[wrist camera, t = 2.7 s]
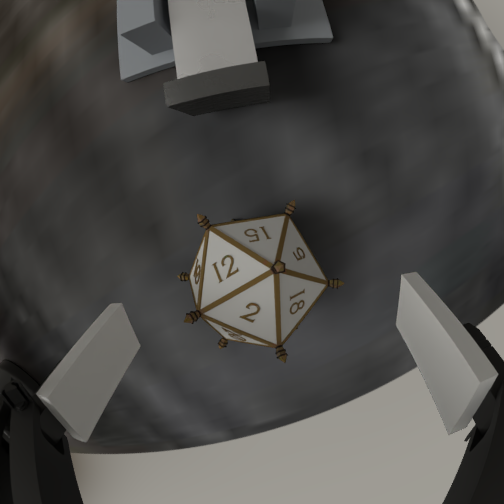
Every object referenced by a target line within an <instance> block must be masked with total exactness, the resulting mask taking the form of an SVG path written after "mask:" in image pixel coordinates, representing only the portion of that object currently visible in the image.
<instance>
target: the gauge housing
mask: <svg viewBox="0 0 504 504" xmlns="http://www.w3.org/2000/svg"><path fill="white" fill-rule="evenodd" d="M245 3H246V8H247V12H248V17H249V21H250V26H251V31H252V35H253V40H254V45H255V49H256V48H263V47H271V46H281V45H292V44H308V43H330V42H331V41H332V39H333V35H332V31H331V28H330V24H329V21H328V17H327V14H326V11H325V7H324V4H323V1H322V0H245ZM117 31H118V50H119V63H120V75H121V80H122V81H125V82H130V81H133V80H135V79H138V78H141V77H143V76H146V75H149V74H152V73H155V72H158V71H161V70H164V69H167V68H171V67H174V66H176V64H175V57H174V49H173V42H172V33H171V25H170V16H169V7H168V0H117Z"/></svg>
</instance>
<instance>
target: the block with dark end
mask: <svg viewBox="0 0 504 504" xmlns="http://www.w3.org/2000/svg"><path fill="white" fill-rule="evenodd" d="M168 7H169V16H170V25H171V33H172V42H173V49H174V57H175V64H176V71H177V78H178V79H176V80H172V81H169V82H166V83H163V86H164V93H165V100H166V106H167V107H169V108H172V109H175V110H178V111H181V112H183V113H186V114H189V115H192V116H196V115H201V114H205V113H210V112H214V111H219V110H224V109H229V108H235V107H240V106H246V105H253V104H259V103H266V102H270V84H269V79H268V73H267V68H266V63H265V61H261V62H258V60H257V55H256V50H255V45H254V40H253V35H252V31H251V26H250V21H249V17H248V12H247V8H246V3H245V0H168Z"/></svg>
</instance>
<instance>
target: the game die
mask: <svg viewBox="0 0 504 504" xmlns="http://www.w3.org/2000/svg"><path fill="white" fill-rule="evenodd" d="M285 209H286V210H285V213H284V214H277V215H270V216H263V217H257V218H250V219H244V220H238V221H236V220H233V219H232V220H231V222H225V223H219V224H213V225H210V223H209V220H208V219H206V218H207V217H206V216H203V215H200V214H197V218H198V224H200V225H201V226H200V227H204V228H205V229H206V231H205V234H204V236H203V239H202V242H201V244H200V247H199V250H198V252H197V255H196V258H195V261H194V263H193V266H192V269H191V272H190V274H187V273H186V272H185V273H183V272H182V273H181V274H180V275H178V276H177V277H178V278H179V279H180V280H181V281H187V280H189V281H190V285H191V290H192V294H193V298H194V302H195V306H196V311H195V312H193V311H191V312H190V313H186V318H185V320H184V322H186V323H192V324H193V323H194V322H195V321H197V320H198V318H199V317H201V318H202V319H203V320H204V321H205V322H206V323H207V324H209V325H210V326H211V327H212V328H213V329H214V330H215V331H216V332H218V333H219V334H220V335H221V336H222V337H223V338H222V339H220V342H219V343H218V344H219V348H220V349H221V348H224V347H227V346H226V345H227V344H228V343H227V340H232V341H237V342H243V343H248V344H254V345H260V346H266V347H273V348H276V354H277V356H278V357H277V358H279V359H280V360H281V361H283V362H284V363H285V362H286V357H287V353H286V352H285V351H286V350H285V349H283V347H282V346H283V344H284V343H285V342H286V341H287V339H288V338H289V337H290V336H291V334H292V333H293V332H294V331H295V329H298V326H299V324H300V323H301V322H302V320H303V319H304V318H305V316H306V315H307V314H308V313H309V311H310V310H311V309H312V307H313V306H314V305H315V303H316V302H317V301H318V299H319V298H320V296H321V295H322V294H323V292H324V291H325V290H326V288H327V287H328V286H330V287H333V288H337V289H338V287H340V286H342V285H343V284H345V283H343V282H342V281H340V280H338V278H337V279H332V280H328V279H327V277H326V276H325V274H324V272H323V270H322V269H321V267H320V265H319V263H318V262H317V260H316V258H315V257H314V255H313V253H312V252H311V250H310V248H309V247H308V245H307V243H306V242H305V240H304V238H303V237H302V235H301V233H300V232H299V230H298V228H297V227H296V225H295V224H294V222H293V220H292V219H291V217H290V215H291V214H292V213H294V209H296V208H295V200H293V201H292V202H290V203H288V204H287V207H285Z"/></svg>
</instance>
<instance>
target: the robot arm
mask: <svg viewBox="0 0 504 504" xmlns="http://www.w3.org/2000/svg"><path fill="white" fill-rule="evenodd" d="M396 326H397V328H398V330H399V332H400V333H401V335H402V337H403V339H404V341H405V343H406V345H407V347H408V348H409V350H410V352H411V354H412V356H413V358H414V360H415V362H416V364H417V366H418V368H419V370H420V372H421V374H422V376H423V378H424V380H425V382H426V384H427V387H428V389H429V391H430V393H431V395H432V397H433V399H434V402H435V404H436V406H437V409H438V411H439V413H440V415H441V418H442V420H443V423H444V425H445V427H446V430H447V432H448V435H450V434H452V433H454V432H457V431H459V430H462V429H464V428H466V427H467V425H468V424H469V422H470V421H471V419H472V418H473V419H474V421H475V423H476V425H475V426H474V427H473V429H472V430H471V432H470V433H469V434H468V436H467V437H466V439H465V441H468V439H469V438H470V440H469V443H468V446H467V449H466V451H465V454H464V457H463V459H462V462H461V465H460V467H459V470H458V472H457V474H456V476H455V479H454V481H453V483H452V485H451V487H450V490H449V492H448V494H447V496H446V498H445V500H444V502H443V503H442V504H504V361H503V360H502V358H501V357H500V356H499V354H498V353H497V351H496V350H495V349H494V348H493V347H491V344H490V342H489V341H488V340H486V337H485V336H484V335H483V334H482V332H480V330H479V329H478V328H476V327H475V326H473V325H471V324H470V323H467V324H464V325H462V324H461V323H460V321H459V320H458V319H457V318H456V317H455V315H454V314H453V313H452V312H451V311H450V309H449V308H448V307H447V306H446V305H445V303H444V302H443V301H442V300H441V299H440V298H439V297H438V295H437V294H436V293H435V292H434V291H433V290H432V289H431V288H430V286H429V285H428V284H427V283H426V282H425V281H424V280H423V279H422V278H421V277H420V276H419V274H418V273H417V272H412V273H406V274H401V286H400V296H399V304H398V312H397V320H396ZM139 348H140V344H139V342H138V340H137V337H136V335H135V333H134V331H133V328H132V326H131V324H130V321H129V319H128V317H127V314H126V312H125V309H124V307H123V305H122V303H112V304H110V305H109V306H108V307H107V308H106V309H105V310H104V311H103V312H102V313H101V315H100V316H99V317H98V318H97V319H96V320H95V321H94V323H93V324H92V325H91V326H90V327H89V328H88V330H87V331H86V332H85V333H84V334H83V335H82V337H81V338H80V339H79V340H78V341H77V342H76V344H75V345H74V346H73V347H72V348H71V350H70V351H69V352H68V353H67V355H66V356H65V357H64V358H63V359H62V360H60V361H59V363H58V364H57V365H56V366H55V368H54V370H52V371H51V373H50V374H49V376H47V378H46V379H45V380H44V382H43V383H42V384H41V386H39V385H38V384H37V383H36V382H35V381H34V380H33V379H32V378H31V377H30V376H29V375H28V374H26V373H25V372H24V371H23V370H22V369H20V368H19V367H18V366H16V365H15V364H13V363H11V362H9V361H7V360H3V361H2V362H1V363H0V504H83V501H82V498H81V494H80V491H79V488H78V484H77V481H76V476H75V472H74V468H73V464H72V460H71V455H70V450H69V444H68V440H67V437H66V436H65V435H64V432H65V431H66V430H67V431H68V432H69V433H70V434H71V436H72V437H73V438H75V439H78V440H80V441H83V442H86V443H87V441H88V439H89V437H90V435H91V433H92V431H93V429H94V428H95V426H96V424H97V422H98V420H99V418H100V416H101V415H102V413H103V411H104V409H105V407H106V405H107V404H108V402H109V400H110V398H111V396H112V395H113V393H114V391H115V389H116V388H117V386H118V384H119V382H120V380H121V379H122V377H123V375H124V374H125V372H126V370H127V368H128V367H129V365H130V363H131V362H132V360H133V358H134V356H135V355H136V353H137V351H138V350H139Z"/></svg>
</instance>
